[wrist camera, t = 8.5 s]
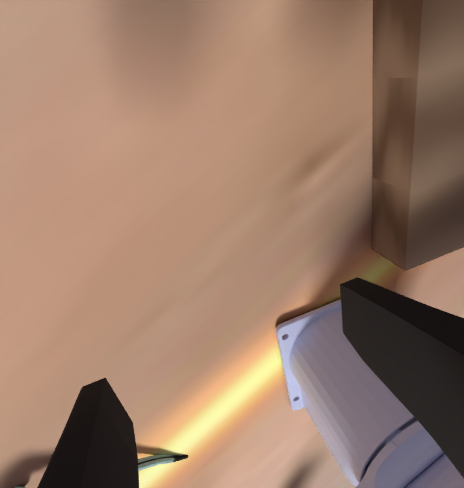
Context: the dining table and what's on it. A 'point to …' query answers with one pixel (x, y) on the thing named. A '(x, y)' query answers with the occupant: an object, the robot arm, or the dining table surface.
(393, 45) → the socket block
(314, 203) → the dining table surface
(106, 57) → the dining table surface
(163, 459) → the sunglasses
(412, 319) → the robot arm
